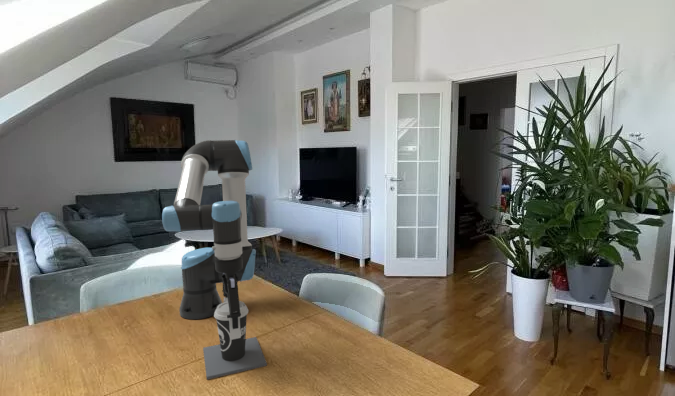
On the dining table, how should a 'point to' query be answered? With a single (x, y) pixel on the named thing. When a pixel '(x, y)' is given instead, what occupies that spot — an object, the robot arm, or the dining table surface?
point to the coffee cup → (234, 347)
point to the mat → (222, 367)
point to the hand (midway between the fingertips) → (232, 327)
